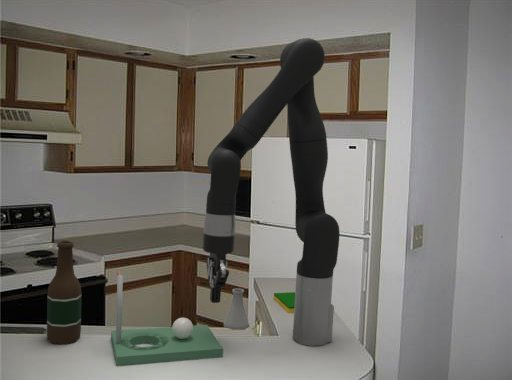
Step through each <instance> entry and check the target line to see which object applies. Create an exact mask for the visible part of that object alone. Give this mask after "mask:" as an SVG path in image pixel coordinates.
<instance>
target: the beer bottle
mask: <svg viewBox="0 0 512 380" xmlns="http://www.w3.org/2000/svg"><path fill="white" fill-rule="evenodd" d="M74 246H75V245H74V243H73V242H72V241H70V240H61V241H58V242H57V244H56V247H57V259H56V270H55V275H54V276H53V278H52V279H51V280H50V282H49V285H48V288H47V297H46V298H47V300H46V302H47V304H46V338H47V341H48V342H50V343H51V344H52V345H62V344H65V345H68V344H69V345H70V344H73V343H76V342H77V341H78V340H79V339H80V338H81V332H82V331H81V330H82V285H81V283H80V281H79V279H78V278H77V276H76V275H75V270H74V257H73V255H74V254H73V248H74Z"/></svg>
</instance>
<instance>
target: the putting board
mask: <svg viewBox="0 0 512 380" xmlns="http://www.w3.org/2000/svg"><path fill="white" fill-rule="evenodd" d="M116 275H117V277H116V283H117V284H116V286H117V287H116V288H117V289H116V320H115V321H116V324H115V330H111V335H110V341H111V345H112V349H113V354H114V360H115V363H116V366H117V367H119V366H131V365H143V364H153V363H164V362H165V363H167V362H177V361H178V362H180V361H189V360H200V359H211V358H212V359H214V358H223V356H224V348H223V346H222V345H221V343H220V342H219V340H218V339H217V338H216V336H215V335H214V333H213V331H212V329H211V328H210V327H209V326H208V325H207V324H198V325H196V324H195V325H194V324H193V332H192V334H191V335H190V336H189V337H188V338H186V339H179V338H177V337H176V336H175V335H174V334H173V331H172V326H167V327H151V328H137V329H133V328H132V329H122V324H123V323H122V322H123V320H122V319H123V317H122V316H123V290H124V289H123V285H124V281H123V280H124V275H122V274H121V271H120V270H119V269H118V270H117V273H116ZM139 344H148V345H151V346H137V345H139Z"/></svg>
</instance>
